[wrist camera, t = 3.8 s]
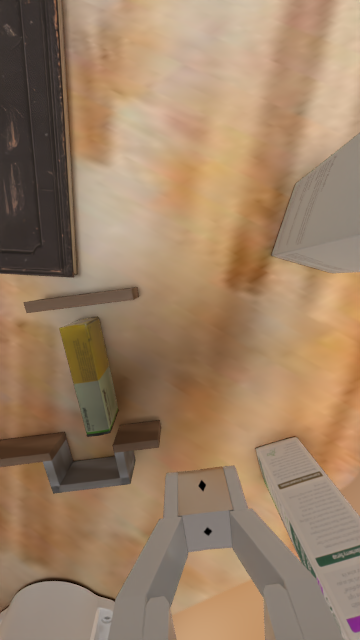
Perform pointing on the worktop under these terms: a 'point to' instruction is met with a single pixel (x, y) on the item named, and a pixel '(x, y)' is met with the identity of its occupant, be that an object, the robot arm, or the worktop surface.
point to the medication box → (91, 374)
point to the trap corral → (55, 446)
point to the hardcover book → (34, 142)
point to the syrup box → (317, 526)
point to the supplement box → (325, 215)
